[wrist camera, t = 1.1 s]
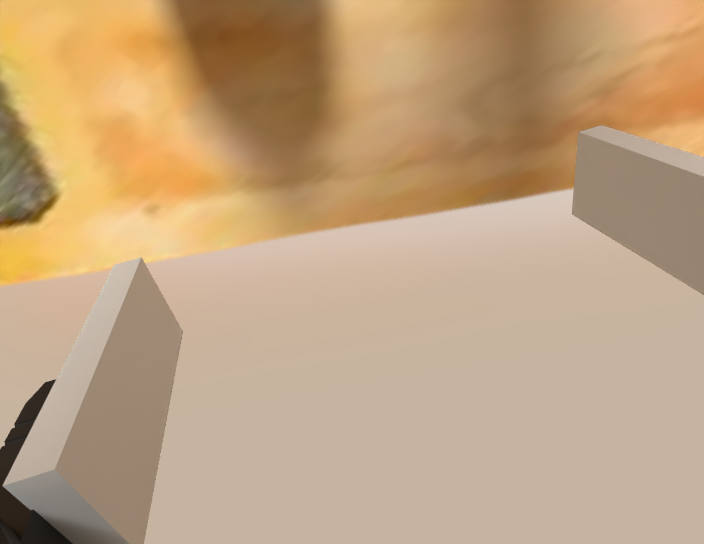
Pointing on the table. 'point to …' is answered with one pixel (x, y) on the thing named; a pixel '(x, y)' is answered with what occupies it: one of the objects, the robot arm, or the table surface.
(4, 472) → the robot arm
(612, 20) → the table surface
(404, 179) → the table surface
